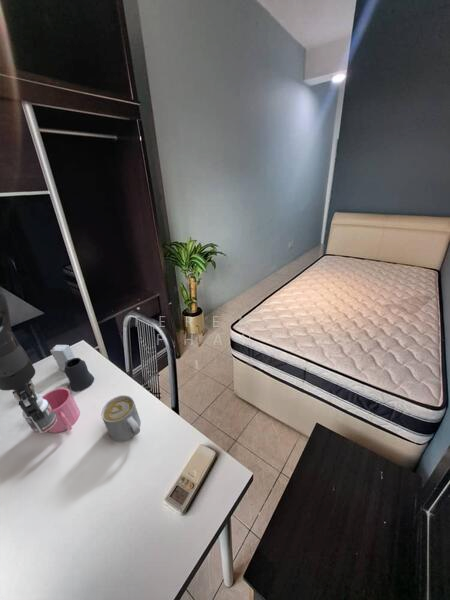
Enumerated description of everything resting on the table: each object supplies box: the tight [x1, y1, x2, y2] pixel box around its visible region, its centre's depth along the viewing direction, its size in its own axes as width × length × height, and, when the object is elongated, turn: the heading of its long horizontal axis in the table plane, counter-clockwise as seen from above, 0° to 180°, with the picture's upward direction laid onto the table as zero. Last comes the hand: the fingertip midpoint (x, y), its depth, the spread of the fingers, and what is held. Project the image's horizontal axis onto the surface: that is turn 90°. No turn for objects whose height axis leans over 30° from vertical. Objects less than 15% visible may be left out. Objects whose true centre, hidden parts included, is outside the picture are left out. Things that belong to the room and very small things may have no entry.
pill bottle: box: [19, 393, 57, 434], centre depth 67 cm, size 6×6×10 cm
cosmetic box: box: [50, 344, 76, 372], centre depth 108 cm, size 6×4×12 cm
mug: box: [63, 357, 95, 393], centre depth 101 cm, size 12×9×11 cm
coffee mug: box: [101, 394, 142, 443], centre depth 80 cm, size 13×10×10 cm
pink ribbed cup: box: [41, 387, 81, 434], centre depth 84 cm, size 14×10×10 cm
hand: (37, 411), depth 66 cm, fingers closed on pill bottle, 5 cm apart
